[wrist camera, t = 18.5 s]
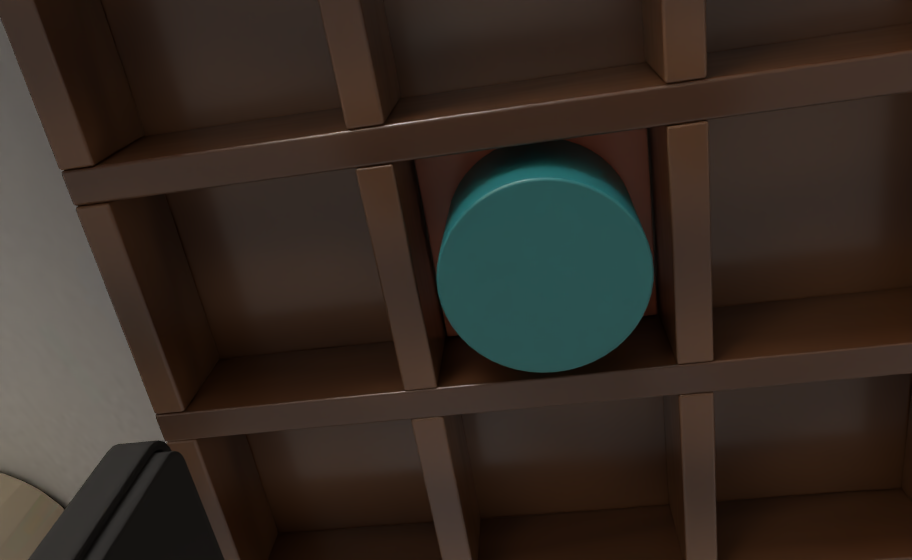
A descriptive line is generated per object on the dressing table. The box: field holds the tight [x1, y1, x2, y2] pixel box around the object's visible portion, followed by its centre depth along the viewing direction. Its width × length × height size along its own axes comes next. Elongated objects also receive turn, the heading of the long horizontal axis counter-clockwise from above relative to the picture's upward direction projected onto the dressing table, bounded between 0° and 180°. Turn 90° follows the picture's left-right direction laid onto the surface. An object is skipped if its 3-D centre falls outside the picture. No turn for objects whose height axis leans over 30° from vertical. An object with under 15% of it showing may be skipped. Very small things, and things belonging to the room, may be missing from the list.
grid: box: [0, 0, 912, 560], centre depth 18 cm, size 19×19×3 cm
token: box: [436, 140, 654, 373], centre depth 17 cm, size 4×4×3 cm
